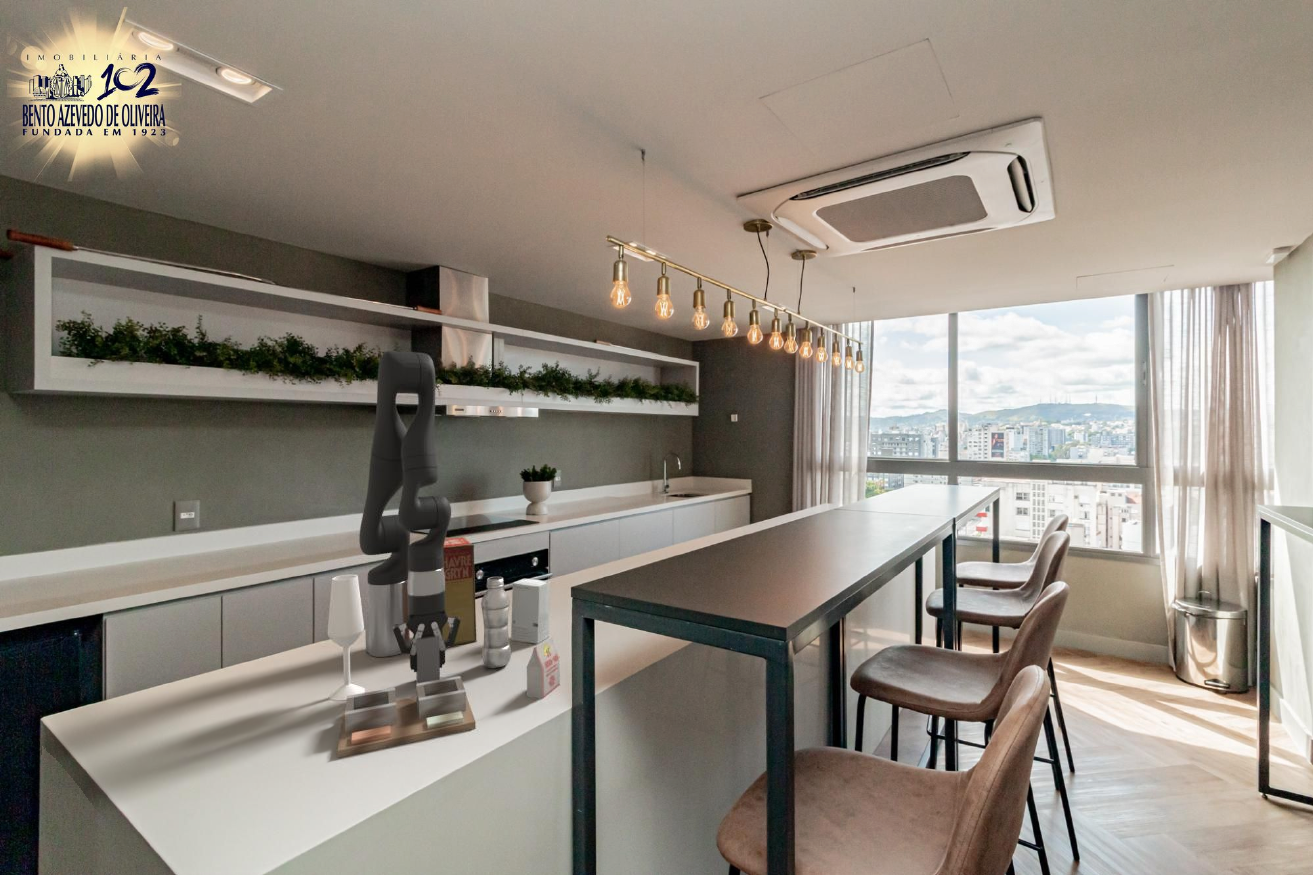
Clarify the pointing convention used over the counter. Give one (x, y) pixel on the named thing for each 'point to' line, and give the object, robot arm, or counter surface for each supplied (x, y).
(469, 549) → the food packaging
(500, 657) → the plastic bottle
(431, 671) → the plug
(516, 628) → the skincare box
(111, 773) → the counter surface
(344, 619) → the champagne flute
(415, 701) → the socket board
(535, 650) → the small milk carton
